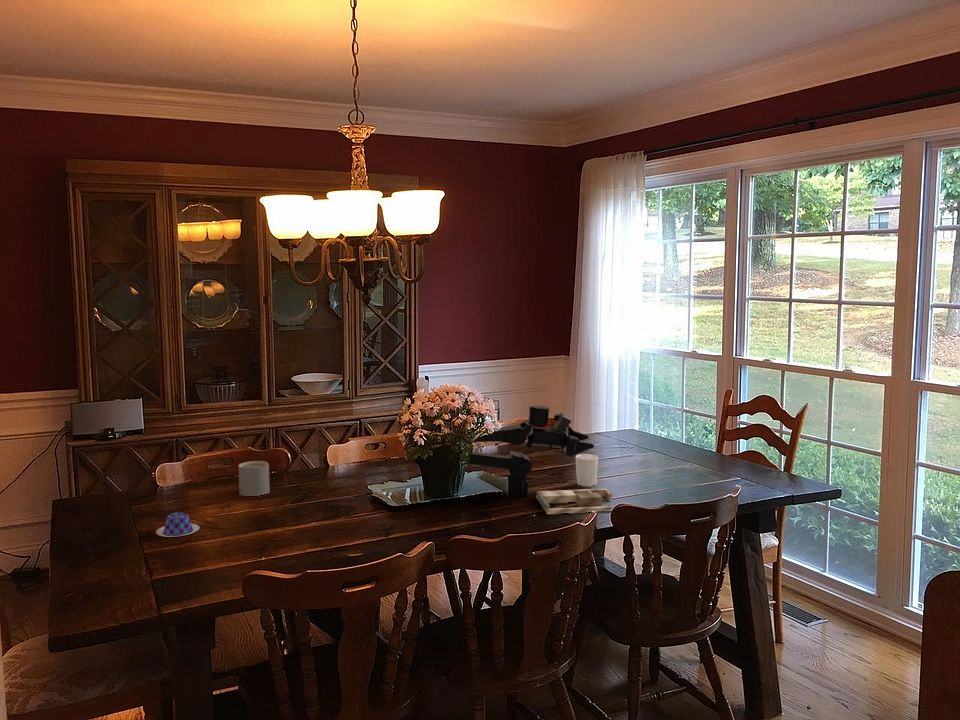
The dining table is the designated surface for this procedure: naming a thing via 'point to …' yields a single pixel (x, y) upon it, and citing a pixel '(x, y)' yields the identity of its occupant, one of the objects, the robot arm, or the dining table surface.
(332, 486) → the dining table surface
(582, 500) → the walnut block
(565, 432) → the robot arm
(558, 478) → the dining table surface
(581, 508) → the trap lane
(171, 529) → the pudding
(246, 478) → the coffee mug
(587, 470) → the white cup
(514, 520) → the dining table surface
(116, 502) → the dining table surface
